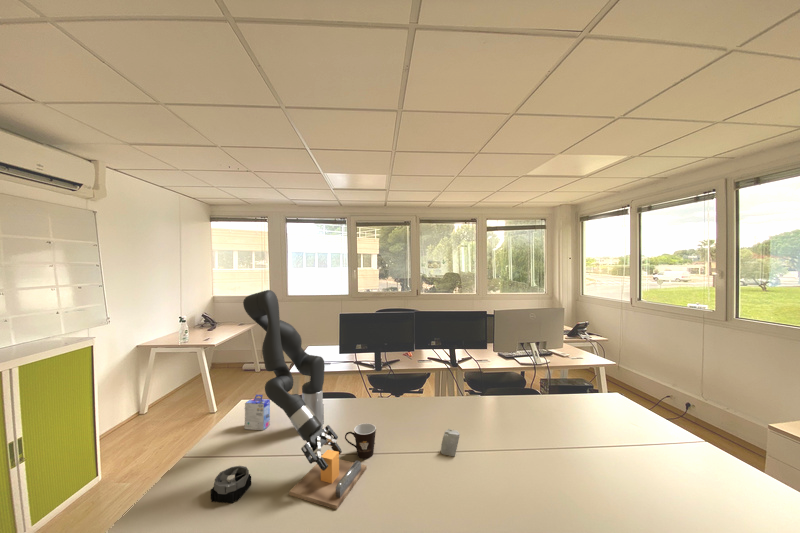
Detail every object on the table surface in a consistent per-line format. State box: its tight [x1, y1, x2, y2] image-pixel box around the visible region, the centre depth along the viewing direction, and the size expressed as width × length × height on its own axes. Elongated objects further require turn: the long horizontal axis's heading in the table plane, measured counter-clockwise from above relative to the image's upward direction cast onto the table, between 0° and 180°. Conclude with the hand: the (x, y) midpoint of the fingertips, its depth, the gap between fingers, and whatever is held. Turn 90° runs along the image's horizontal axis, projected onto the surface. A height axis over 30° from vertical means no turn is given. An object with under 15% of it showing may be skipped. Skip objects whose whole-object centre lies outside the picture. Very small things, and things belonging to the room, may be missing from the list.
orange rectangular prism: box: [321, 449, 340, 483], centre depth 104 cm, size 4×4×8 cm
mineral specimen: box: [440, 428, 461, 457], centre depth 120 cm, size 7×9×8 cm
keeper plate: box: [288, 458, 368, 510], centre depth 104 cm, size 20×18×5 cm
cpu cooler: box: [210, 465, 252, 504], centre depth 99 cm, size 10×6×10 cm
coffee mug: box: [344, 422, 377, 460], centre depth 120 cm, size 12×9×10 cm
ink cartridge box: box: [244, 394, 271, 431], centre depth 141 cm, size 10×6×14 cm, turn 83°
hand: (333, 461), depth 103 cm, fingers open, 8 cm apart
